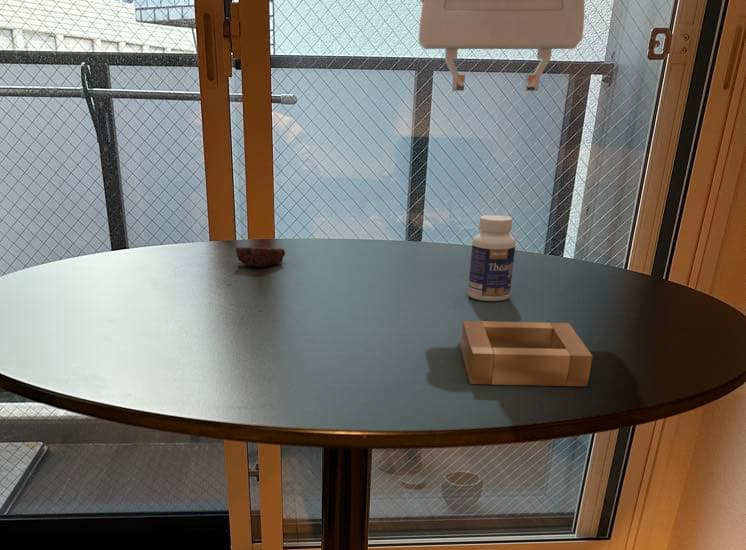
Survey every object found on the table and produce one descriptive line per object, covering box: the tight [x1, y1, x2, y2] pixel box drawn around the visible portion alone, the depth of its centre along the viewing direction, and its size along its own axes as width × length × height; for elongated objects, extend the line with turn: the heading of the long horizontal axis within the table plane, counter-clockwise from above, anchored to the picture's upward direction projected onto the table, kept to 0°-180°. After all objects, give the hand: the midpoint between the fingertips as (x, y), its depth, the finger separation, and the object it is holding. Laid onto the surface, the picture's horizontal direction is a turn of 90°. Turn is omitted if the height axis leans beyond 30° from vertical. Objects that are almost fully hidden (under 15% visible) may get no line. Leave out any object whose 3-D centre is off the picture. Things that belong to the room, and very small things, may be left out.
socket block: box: [460, 320, 593, 388], centre depth 79 cm, size 11×11×3 cm
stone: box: [235, 246, 286, 268], centre depth 119 cm, size 7×7×3 cm
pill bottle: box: [467, 214, 517, 302], centre depth 102 cm, size 5×5×10 cm
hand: (494, 90), depth 104 cm, fingers open, 8 cm apart
